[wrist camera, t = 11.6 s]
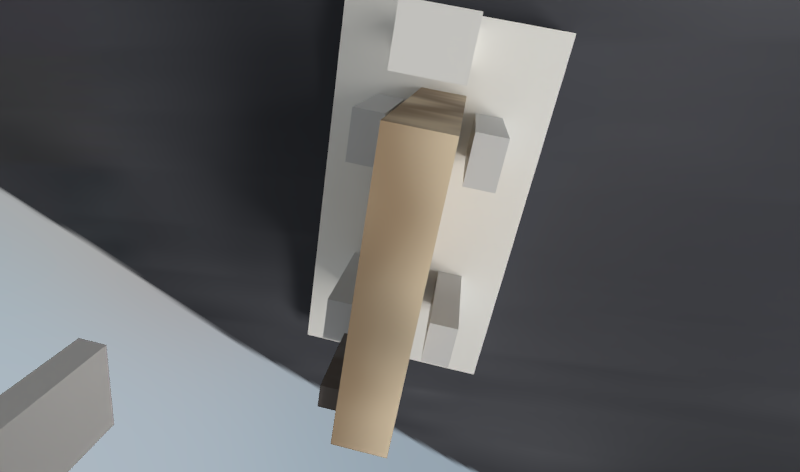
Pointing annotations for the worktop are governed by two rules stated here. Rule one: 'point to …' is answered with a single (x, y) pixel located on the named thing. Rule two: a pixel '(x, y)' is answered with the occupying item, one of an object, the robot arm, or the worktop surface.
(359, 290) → the oak door
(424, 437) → the worktop surface
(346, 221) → the white holder stand
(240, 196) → the worktop surface
